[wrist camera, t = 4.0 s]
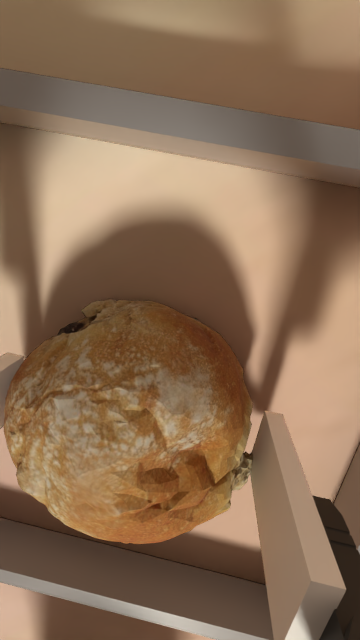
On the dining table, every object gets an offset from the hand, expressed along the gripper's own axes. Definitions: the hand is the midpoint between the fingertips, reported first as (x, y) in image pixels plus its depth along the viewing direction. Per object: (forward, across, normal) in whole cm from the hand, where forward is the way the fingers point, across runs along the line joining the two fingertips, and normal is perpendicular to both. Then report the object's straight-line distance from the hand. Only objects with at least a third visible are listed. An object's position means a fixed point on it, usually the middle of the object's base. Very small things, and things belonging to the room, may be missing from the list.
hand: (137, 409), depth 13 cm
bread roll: (+2, 0, 0) cm, 2 cm away
